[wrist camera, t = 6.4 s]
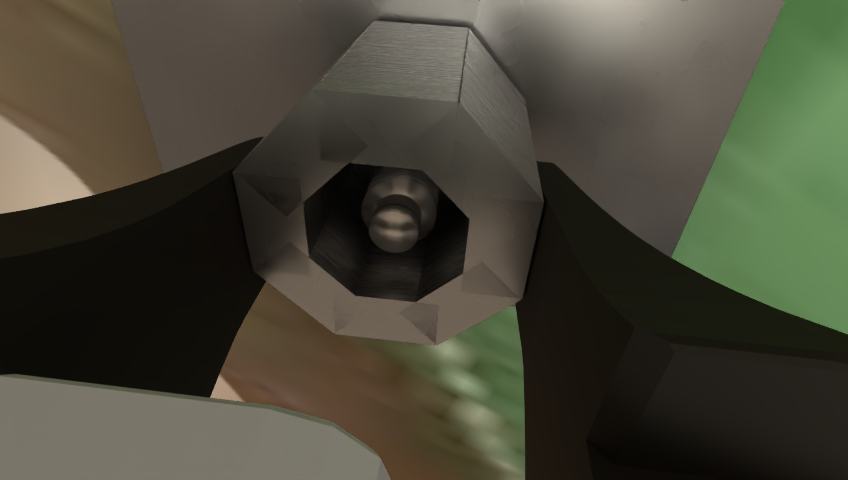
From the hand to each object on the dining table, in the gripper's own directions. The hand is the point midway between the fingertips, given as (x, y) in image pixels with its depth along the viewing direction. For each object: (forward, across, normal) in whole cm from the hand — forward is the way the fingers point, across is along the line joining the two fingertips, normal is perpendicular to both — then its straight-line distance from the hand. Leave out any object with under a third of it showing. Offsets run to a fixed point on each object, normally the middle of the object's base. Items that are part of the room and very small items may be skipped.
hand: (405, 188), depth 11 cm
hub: (+2, 0, 0) cm, 3 cm away
